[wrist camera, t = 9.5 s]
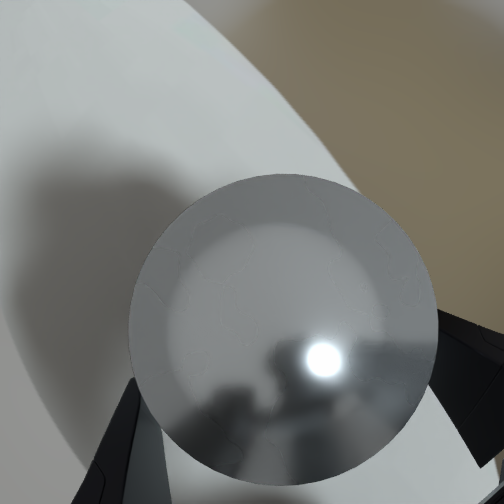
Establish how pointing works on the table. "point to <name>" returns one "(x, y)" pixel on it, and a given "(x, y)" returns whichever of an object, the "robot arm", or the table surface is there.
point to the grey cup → (283, 329)
